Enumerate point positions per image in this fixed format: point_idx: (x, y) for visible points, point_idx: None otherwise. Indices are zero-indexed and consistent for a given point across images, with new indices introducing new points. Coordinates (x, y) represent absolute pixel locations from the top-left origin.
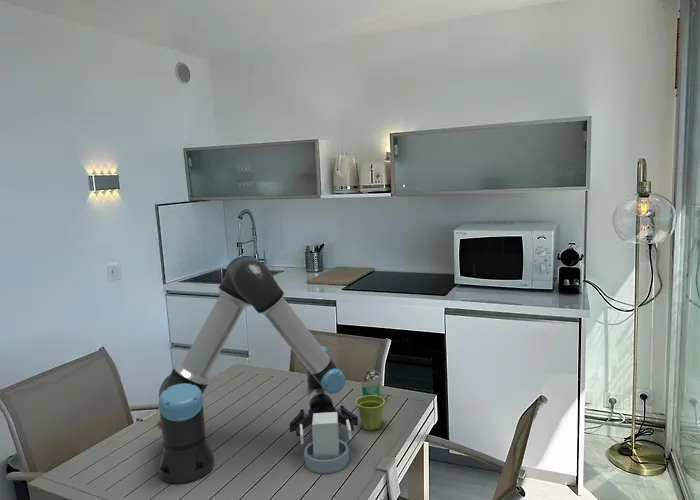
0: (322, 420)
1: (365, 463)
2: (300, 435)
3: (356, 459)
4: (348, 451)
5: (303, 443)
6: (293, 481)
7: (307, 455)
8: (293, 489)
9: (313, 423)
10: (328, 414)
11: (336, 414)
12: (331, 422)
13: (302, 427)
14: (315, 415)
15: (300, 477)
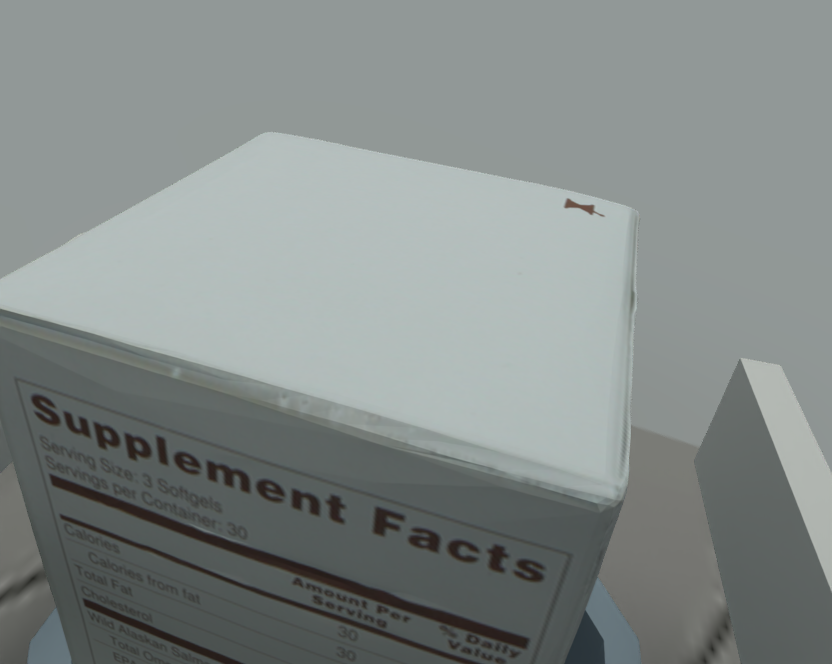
0: (454, 204)
1: (29, 527)
2: (776, 369)
3: (42, 619)
4: None
5: (696, 455)
6: (695, 552)
7: (603, 610)
8: (681, 476)
9: (617, 210)
10: (247, 282)
11: (85, 239)
12: (336, 148)
13: (807, 527)
14: (566, 366)
15: (640, 576)
